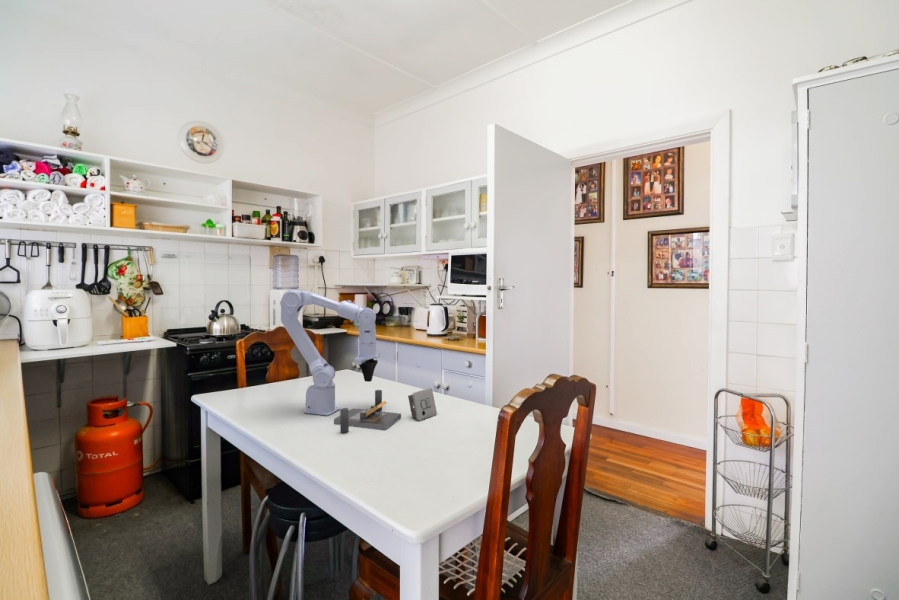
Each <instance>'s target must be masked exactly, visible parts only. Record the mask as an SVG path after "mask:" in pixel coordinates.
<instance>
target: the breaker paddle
mask: <svg viewBox="0 0 899 600" xmlns="http://www.w3.org/2000/svg"><path fill="white" fill-rule="evenodd" d="M387 403H388V402H387V401H386V400H384V401H382V403H381V404H379V405H377V406H376V407H374V408H371V407H370V408H369V409H367V410H368V411H366V412H365V413H366V417H368V416H369V415H371V414H372V413H374V412H375V410H377V409H379V408H380V407H382V408H383V406H385V405H386V404H387Z"/></svg>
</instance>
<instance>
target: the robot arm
mask: <svg viewBox="0 0 899 600" xmlns="http://www.w3.org/2000/svg"><path fill="white" fill-rule="evenodd" d="M279 304H280V305H279V306H280V322H281V324H282V325H283V327H284V328H285V330H286V331H287V333H288V335H289V337H290V338H291V339H292V341H293V343H294V344H295V347H297V349H298V351H299V352H300V354H301V355H302V357H303V359H304V360H305V361H306V363H307V365H308V367H309V372H310V374H311V375H312V382H313V383H314V384H311V385H309V386H308V387H307V389H306V392H305V410H304V412H303V413H305V414H313V415H320V416H321V415H322V416H330V415H332V414H333V413H336V412H338V411H339V410H340V409H341V407H336V383H335V382H334V378H335V377H336V370H335V368H334V367H333V366H332V365H331V364H329V363H328V362H327V361H326V359H325V358H324V357H322V355H321V354H320V352H319V351H318V348H316V346H315V344H314V342H313V341H312V339H311V338H310V336H309V334H308V333H307V331H306V330H305V328H304V327H303V325H302V324H301V322H300V321H299V315H300V312H301V310H302V308H303V307H305V306H309V305H316V306H318V307H322V308H324V309H329V310H331V311H335V312H336V313H337V316H338V317H340V318H344V319H346V320H350V321H352V322H355V323H356V322H359V330H358V331H359V334H358V338H359V343H358V344H359V347H358V348H359V355H358V356H356V357H355V358H354V365H358V367H359V368H360V370H361V372H362V377H363V380H364V382H367V383H368V382H369V383H370V382H372V381H373V377H374V373H375V369H376V366H377V365H378V360H377V359H378V358H381V352H380V351H377V330H376V319H377V314H376V312H375V310H373V309H371V308H370V307H365V305H359V304H356V303H353V302H352V300H349V299H347V300H342V301H340V302H339V301H336V300H333V299H331V298H328V297H326V296H323V295H321V294H318V293H315V292H311V291H306V290H301V289H297V288H295V289H290V290H286V291H285V292H284V293H283V295H282V296H281V298H280V302H279Z"/></svg>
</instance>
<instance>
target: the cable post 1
mask: <svg viewBox="0 0 899 600" xmlns="http://www.w3.org/2000/svg"><path fill="white" fill-rule="evenodd" d="M339 410H340V411H339V413H340V415H339V416H340V424H339V426H340V429H339V430H340V434H342V435H343V434H348V433H349V431H350V430H349V410H350V409H349V408H347V407H343V408H340V409H339Z"/></svg>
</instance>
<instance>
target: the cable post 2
mask: <svg viewBox="0 0 899 600" xmlns="http://www.w3.org/2000/svg"><path fill="white" fill-rule="evenodd" d="M382 402H383V390H382V389H375V391H374V406H377V405H379V404H381V403H382ZM382 410H383V406H382V407H380V408H379V409H377V410H376V411H382ZM382 412H383V411H382Z"/></svg>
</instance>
